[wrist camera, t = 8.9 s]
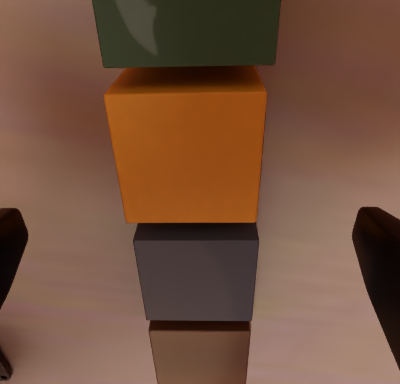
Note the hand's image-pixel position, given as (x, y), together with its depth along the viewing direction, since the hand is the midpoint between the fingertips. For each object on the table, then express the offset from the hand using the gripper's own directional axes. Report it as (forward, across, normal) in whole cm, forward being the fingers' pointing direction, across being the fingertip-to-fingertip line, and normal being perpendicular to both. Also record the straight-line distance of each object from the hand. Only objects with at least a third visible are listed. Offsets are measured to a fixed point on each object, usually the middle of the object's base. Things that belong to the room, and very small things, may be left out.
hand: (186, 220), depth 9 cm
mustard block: (+8, 0, 0) cm, 8 cm away
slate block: (+8, 0, +6) cm, 10 cm away
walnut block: (+8, 0, +12) cm, 14 cm away
